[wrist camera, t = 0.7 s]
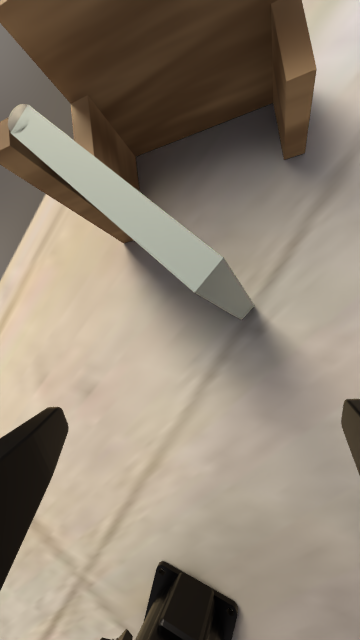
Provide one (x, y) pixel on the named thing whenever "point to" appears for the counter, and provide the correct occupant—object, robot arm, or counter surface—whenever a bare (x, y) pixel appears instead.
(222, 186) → the counter surface
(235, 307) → the grey square panel
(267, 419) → the counter surface
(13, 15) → the stool frame
